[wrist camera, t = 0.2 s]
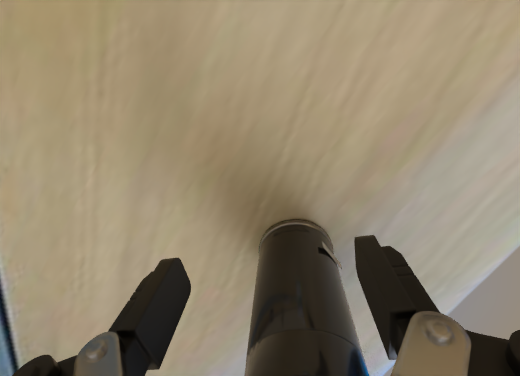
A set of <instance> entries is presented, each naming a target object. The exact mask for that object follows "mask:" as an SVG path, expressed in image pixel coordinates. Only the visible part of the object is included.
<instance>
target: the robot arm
mask: <svg viewBox="0 0 520 376" xmlns="http://www.w3.org/2000/svg"><path fill="white" fill-rule="evenodd" d="M355 259H356V269H357V274H358V278H359V281H360V284H361V286H362V289H363V292H364V294H365V297H366V300H367V302H368V305H369V308H370V310H371V313H372V316H373V318H374V321H375V324H376V326H377V329H378V332H379V334H380V337H381V340H382V342H383V345H384V348H385V350H386V353H387V356H388V358H389V360H396V362H395V365H394V368H393V370H392V373H391V376H520V330H518V331H515V332H514V333H512V335H511V336H510V339H509V340H506V339H501V338H497V337H492V336H487V335H483V334H478V333H474V332H471V331H468V330H465V329H464V328H463V327H462V326H461V325H459V323H458V322H456V321H455V320H453V319H452V318H450V317H448V316H446V315H444V314H441V313H440V312H439V310H438V309H437V308H436V306H435V304H434V303H433V301H432V300H431V298H430V297H429V295H428V294H427V292H426V291H425V289H424V288H423V286H422V285H421V283H420V282H419V280H418V279H417V277H416V276H415V275H414V273H413V271H412V270H411V268H410V267H409V266H408V264H407V262H406V260H405V259H404V257H403V256H402V254H401V253H399V252H398V251H396V250H395V249H394V248H392V247H391V246H385V247H381V246H380V244H379V243H378V241H377V239H376V237H375V236H374V235H369V236H360V237H355ZM337 264H338V265H339V267H340V268H341V265H340V262H339V261H338V260H337V258H336V257H335V256H334V253H333V246H332V243H331V240H330V238H329V236H328V234H327V233H326V232H325V231H324V230H323V229H322V228H321V227H319V226H318V225H316V224H314V223H311V222H308V221H304V220H287V221H283V222H280V223H278V224H276V225H274V226H272V227H271V228H270V229H268V230H267V231H266V232H265V234H264V235H263V237H262V239H261V241H260V246H259V260H258V267H257V276H256V284H255V292H254V300H253V308H252V317H251V325H250V333H249V341H248V350H247V358H246V368H245V376H369V374H368V371H367V367H366V364H365V360H364V358H363V354H362V350H361V347H360V344H359V340H358V337H357V333H356V330H355V326H354V323H353V319H352V316H351V312H350V309H349V305H348V302H347V298H346V295H345V291H344V288H343V284H342V281H341V277H340V274H339V270H338V267H337ZM341 269H342V268H341ZM135 291H136V292H134V293H133V295H132V296H131V298H130V301H128V302H127V304H126V305H125V307H124V308H123V310H122V311H121V313H120V314H119V316H118V317H117V319H116V320H115V322H114V323H113V325H112V326H111V328H110V329H109V331H108V332H105V333H102V334H100V335H98V336H96V337H95V338H93V339H92V340H90V341H89V342H88V343H87V344H86V345H85V346H84V347H83V348H82V349H81V351H80V352H79V354H78V355H76V356H73V357H71V358H68V359H65V360H63V361H60V362H56V361H55V360H54V359H53V358H52V357H51V356H50V355H42V356H39V357H37V358H34V359H33V360H31V361H29V362H28V363H26V364H25V365H23V366H22V367H21V368H20V369H19V370H17V371H16V372H15V373H14V374H13V375H12V376H145V374H146V371H147V370H154V369H159V368H160V366H161V364H162V361H163V359H164V356H165V354H166V351H167V349H168V347H169V344H170V342H171V339H172V337H173V335H174V332H175V330H176V327H177V325H178V322H179V320H180V318H181V315H182V313H183V310H184V308H185V305H186V303H187V301H188V298H189V296H190V292H191V284H190V280H189V278H188V276H187V273H186V271H185V269H184V266H183V264H182V262H181V260H180V259H179V258H171V259H163V260H161V261H160V262H159V264H158V265H157V267H156V268H155V270H154V272H151V273H150V274H149V275H148V276H147V277H145V278H144V279H143V280H142V281H141V283H140V284H139V286H138V287H137V289H136V290H135Z"/></svg>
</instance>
